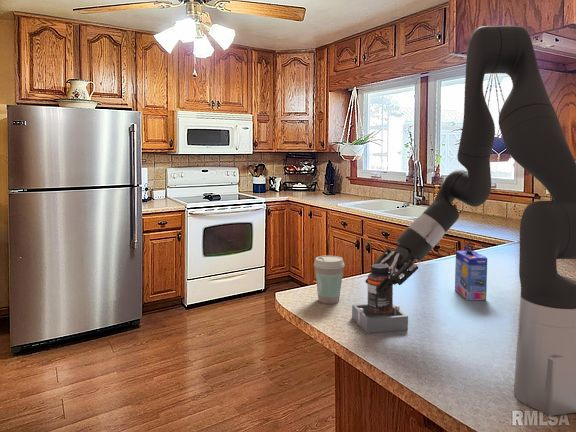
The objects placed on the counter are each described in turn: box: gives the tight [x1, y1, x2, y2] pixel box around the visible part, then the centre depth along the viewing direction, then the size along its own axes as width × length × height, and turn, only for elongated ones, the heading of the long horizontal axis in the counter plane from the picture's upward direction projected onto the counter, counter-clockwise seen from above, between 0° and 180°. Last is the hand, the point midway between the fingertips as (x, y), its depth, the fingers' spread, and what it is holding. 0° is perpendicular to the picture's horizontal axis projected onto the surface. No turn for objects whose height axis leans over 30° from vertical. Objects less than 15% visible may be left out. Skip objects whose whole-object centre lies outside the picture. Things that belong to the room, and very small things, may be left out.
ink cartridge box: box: [454, 244, 488, 301], centre depth 128 cm, size 10×6×14 cm, turn 2°
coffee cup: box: [313, 255, 346, 305], centre depth 124 cm, size 9×9×12 cm
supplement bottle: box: [366, 263, 394, 315], centre depth 107 cm, size 6×6×11 cm
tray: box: [351, 303, 409, 334], centre depth 107 cm, size 10×10×4 cm
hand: (373, 288), depth 106 cm, fingers closed on supplement bottle, 6 cm apart
